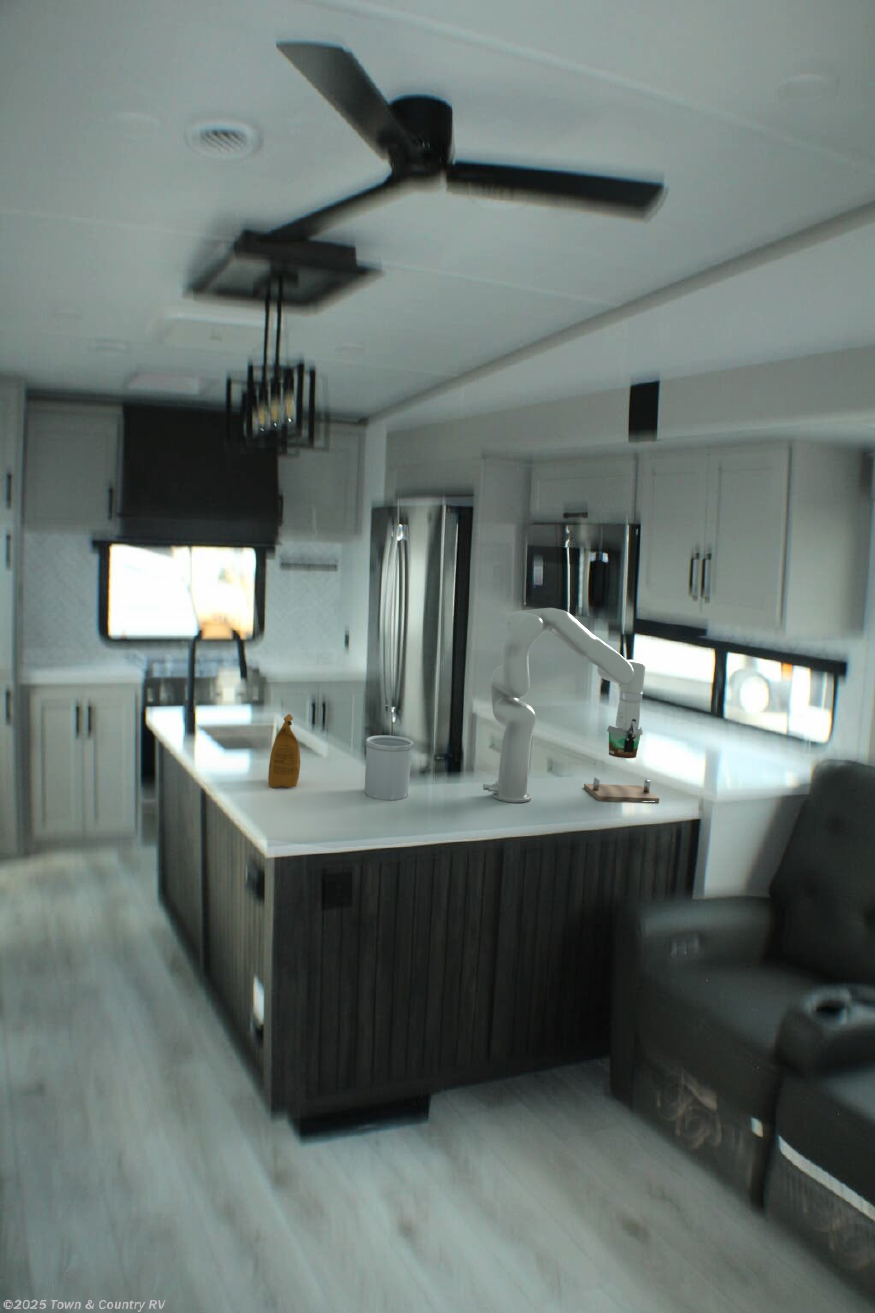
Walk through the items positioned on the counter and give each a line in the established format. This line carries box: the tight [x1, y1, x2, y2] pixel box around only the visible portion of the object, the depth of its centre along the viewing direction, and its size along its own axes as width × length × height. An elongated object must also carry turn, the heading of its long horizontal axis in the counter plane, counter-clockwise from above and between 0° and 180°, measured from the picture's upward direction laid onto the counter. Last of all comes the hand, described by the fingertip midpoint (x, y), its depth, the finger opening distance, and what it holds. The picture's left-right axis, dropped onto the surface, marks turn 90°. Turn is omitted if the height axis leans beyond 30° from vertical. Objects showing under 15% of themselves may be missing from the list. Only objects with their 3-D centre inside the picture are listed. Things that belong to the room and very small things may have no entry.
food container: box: [606, 725, 644, 759], centre depth 334 cm, size 12×6×10 cm, turn 99°
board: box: [583, 777, 660, 803], centre depth 337 cm, size 21×16×6 cm
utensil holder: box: [364, 734, 414, 801], centre depth 314 cm, size 15×15×18 cm
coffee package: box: [267, 713, 301, 789], centre depth 316 cm, size 10×12×22 cm
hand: (625, 749), depth 335 cm, fingers closed on food container, 5 cm apart
